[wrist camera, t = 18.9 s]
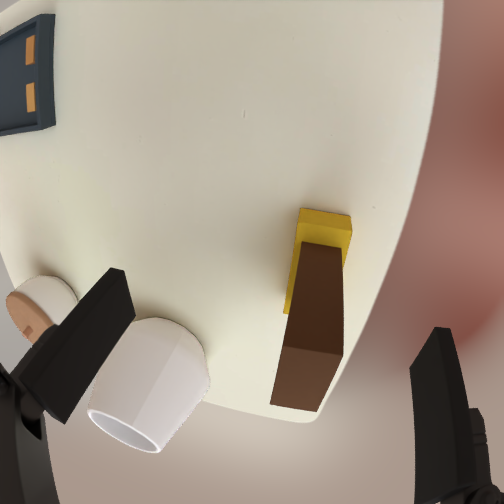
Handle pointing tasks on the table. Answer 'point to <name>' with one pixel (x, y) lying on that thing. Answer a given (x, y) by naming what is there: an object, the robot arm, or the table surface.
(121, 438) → the white vase
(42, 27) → the tray
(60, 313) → the trinket box
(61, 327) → the robot arm
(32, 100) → the crumb
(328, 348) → the brush
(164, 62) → the table surface
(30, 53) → the crumb
